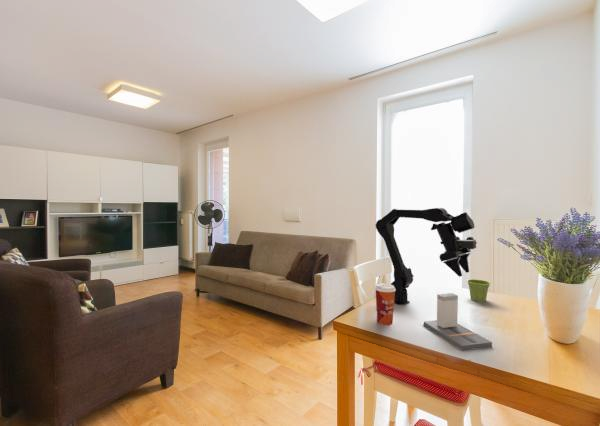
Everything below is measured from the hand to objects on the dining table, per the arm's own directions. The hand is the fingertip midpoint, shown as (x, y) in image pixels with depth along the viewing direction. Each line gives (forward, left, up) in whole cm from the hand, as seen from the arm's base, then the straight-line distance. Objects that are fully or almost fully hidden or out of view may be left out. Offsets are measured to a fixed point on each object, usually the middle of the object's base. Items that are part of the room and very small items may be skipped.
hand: (464, 274), depth 116 cm
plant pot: (-13, +26, -18) cm, 34 cm away
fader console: (+10, -16, -17) cm, 26 cm away
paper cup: (-9, -31, -18) cm, 37 cm away
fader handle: (+6, -16, -16) cm, 23 cm away
